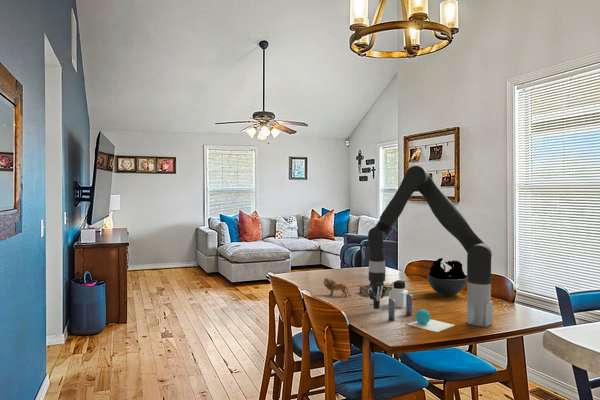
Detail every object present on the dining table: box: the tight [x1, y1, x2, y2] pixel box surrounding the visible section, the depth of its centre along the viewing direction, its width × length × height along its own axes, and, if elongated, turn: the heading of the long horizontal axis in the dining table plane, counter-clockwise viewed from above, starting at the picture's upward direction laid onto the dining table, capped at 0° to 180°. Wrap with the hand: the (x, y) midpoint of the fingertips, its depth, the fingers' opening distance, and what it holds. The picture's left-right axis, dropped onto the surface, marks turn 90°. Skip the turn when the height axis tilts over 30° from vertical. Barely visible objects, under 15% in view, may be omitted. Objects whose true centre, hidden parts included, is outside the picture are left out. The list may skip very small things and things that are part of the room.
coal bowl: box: [427, 257, 468, 297], centre depth 247 cm, size 20×20×19 cm
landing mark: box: [406, 318, 456, 333], centre depth 192 cm, size 14×14×1 cm
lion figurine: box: [323, 277, 352, 298], centre depth 244 cm, size 15×5×9 cm, turn 74°
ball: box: [415, 309, 431, 324], centre depth 194 cm, size 6×6×6 cm
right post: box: [405, 293, 413, 317], centre depth 208 cm, size 3×3×9 cm
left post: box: [387, 298, 396, 322], centre depth 199 cm, size 3×3×9 cm
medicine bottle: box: [388, 279, 409, 309], centre depth 224 cm, size 7×7×12 cm
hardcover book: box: [359, 283, 393, 297], centre depth 251 cm, size 12×21×4 cm, turn 107°
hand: (376, 308), depth 213 cm, fingers closed
